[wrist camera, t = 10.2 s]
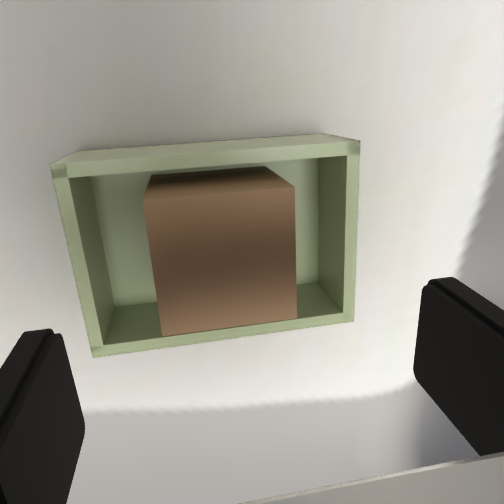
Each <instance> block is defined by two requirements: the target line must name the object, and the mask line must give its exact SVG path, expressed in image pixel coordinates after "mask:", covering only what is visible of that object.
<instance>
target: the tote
mask: <svg viewBox="0 0 504 504" xmlns="http://www.w3.org/2000/svg"><path fill="white" fill-rule="evenodd" d="M359 161H360V141H359V140H354V139H349V138H344V137H339V136H334V135H329V134H324V133H321V134H307V135H293V136H280V137H266V138H252V139H238V140H224V141H210V142H197V143H183V144H169V145H155V146H141V147H127V148H114V149H100V150H86V151H77V152H74V153H72V154H70V155H68V156H66V157H64V158H62V159H60V160H57V161H55V162H53V163H51V164H49V165H50V169H51V173H52V178H53V182H54V187H55V191H56V196H57V200H58V205H59V209H60V214H61V218H62V223H63V227H64V232H65V236H66V241H67V245H68V250H69V254H70V259H71V263H72V268H73V272H74V277H75V281H76V286H77V290H78V295H79V299H80V304H81V308H82V312H83V317H84V321H85V326H86V330H87V335H88V339H89V344H90V348H91V353H92V357H93V358H96V357H103V356H111V355H118V354H125V353H132V352H139V351H146V350H153V349H161V348H168V347H175V346H182V345H189V344H196V343H203V342H211V341H218V340H225V339H232V338H239V337H246V336H253V335H260V334H268V333H275V332H282V331H289V330H296V329H303V328H310V327H318V326H325V325H332V324H339V323H346V322H353V321H354V305H355V276H356V248H357V219H358V190H359ZM258 166H266V167H267V168H269V169H270V170H272V171H273V172H275V173H276V174H277V175H279V176H280V177H282V178H283V179H285V180H286V181H287V182H289V183H290V184H292V185H293V186H294V187H295V228H296V287H297V318H296V319H289V320H281V321H274V322H266V323H259V324H251V325H244V326H236V327H229V328H221V329H214V330H206V331H199V332H191V333H184V334H177V335H169V336H162V331H161V324H160V317H159V311H158V304H157V297H156V290H155V284H154V277H153V270H152V263H151V257H150V250H149V243H148V236H147V229H146V223H145V216H144V209H143V202H142V199H143V196H144V194H145V191H146V188H147V185H148V183H149V180H150V177H151V175H157V174H170V173H182V172H195V171H207V170H220V169H233V168H245V167H258Z"/></svg>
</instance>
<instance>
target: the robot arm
mask: <svg viewBox="0 0 504 504" xmlns="http://www.w3.org/2000/svg"><path fill="white" fill-rule="evenodd" d="M413 370H414V375H415V378H416V380H417V381H418V383H419V384H420V385H421V386H422V387H423V388H424V390H425V391H426V392H427V393H428V394H429V396H430V397H431V398H432V399H433V400H434V402H435V403H436V404H437V405H438V406H439V408H440V409H441V410H442V411H443V412H444V413H445V415H446V416H447V417H448V418H449V420H450V421H451V422H452V423H453V424H454V426H455V427H456V428H457V429H458V430H459V431H460V433H461V434H462V435H463V436H464V437H465V439H466V440H467V441H468V442H469V443H470V445H471V446H472V447H473V448H474V449H475V450H476V452H477V453H478V454H479V455H480V456H479V457H474V458H469V459H463V460H458V461H453V462H448V463H442V464H437V465H432V466H427V467H422V468H416V469H411V470H406V471H401V472H396V473H391V474H386V475H380V476H375V477H370V478H365V479H360V480H355V481H350V482H345V483H339V484H335V485H329V486H324V487H319V488H315V489H309V490H304V491H299V492H294V493H289V494H284V495H279V496H274V497H269V498H264V499H259V500H254V501H249V502H244V503H239V504H504V310H502V309H500V308H499V307H498V306H496V305H495V304H493V303H492V302H490V301H489V300H487V299H485V298H484V297H483V296H481V295H480V294H478V293H477V292H475V291H474V290H472V289H471V288H469V287H467V286H466V285H465V284H463V283H461V282H460V281H459V280H457V279H456V278H453V277H447V278H439V279H431V280H430V281H429V282H428V284H427V285H426V286H424V287H423V289H422V295H421V304H420V313H419V321H418V330H417V339H416V348H415V357H414V366H413ZM84 434H85V422H84V418H83V414H82V410H81V406H80V402H79V398H78V394H77V391H76V387H75V383H74V379H73V375H72V371H71V367H70V363H69V360H68V356H67V352H66V348H65V344H64V340H63V337H62V335H61V334H60V333H58V334H54V332H53V330H52V329H43V330H35V331H27V332H24V333H23V334H22V335H21V337H20V338H19V340H18V342H17V343H16V345H15V346H14V348H13V349H12V351H11V353H10V354H9V356H8V357H7V359H6V360H5V362H4V364H3V365H2V367H1V368H0V504H66V502H67V499H68V495H69V491H70V487H71V483H72V480H73V476H74V472H75V469H76V464H77V461H78V457H79V454H80V450H81V446H82V442H83V439H84Z"/></svg>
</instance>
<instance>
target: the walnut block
mask: <svg viewBox="0 0 504 504" xmlns="http://www.w3.org/2000/svg"><path fill="white" fill-rule="evenodd" d="M142 202H143V209H144V216H145V223H146V229H147V236H148V243H149V250H150V257H151V263H152V270H153V277H154V284H155V290H156V297H157V304H158V311H159V317H160V324H161V331H162V336H169V335H177V334H184V333H191V332H199V331H206V330H214V329H221V328H229V327H236V326H244V325H251V324H259V323H266V322H274V321H281V320H289V319H296V318H297V287H296V228H295V187H294V186H293V185H292V184H290V183H289V182H287V181H286V180H285V179H283V178H282V177H280V176H279V175H277V174H276V173H275V172H273V171H272V170H270V169H269V168H267V167H266V166H258V167H245V168H233V169H220V170H207V171H195V172H182V173H170V174H157V175H151V177H150V180H149V183H148V185H147V188H146V191H145V194H144V196H143V199H142Z"/></svg>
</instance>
